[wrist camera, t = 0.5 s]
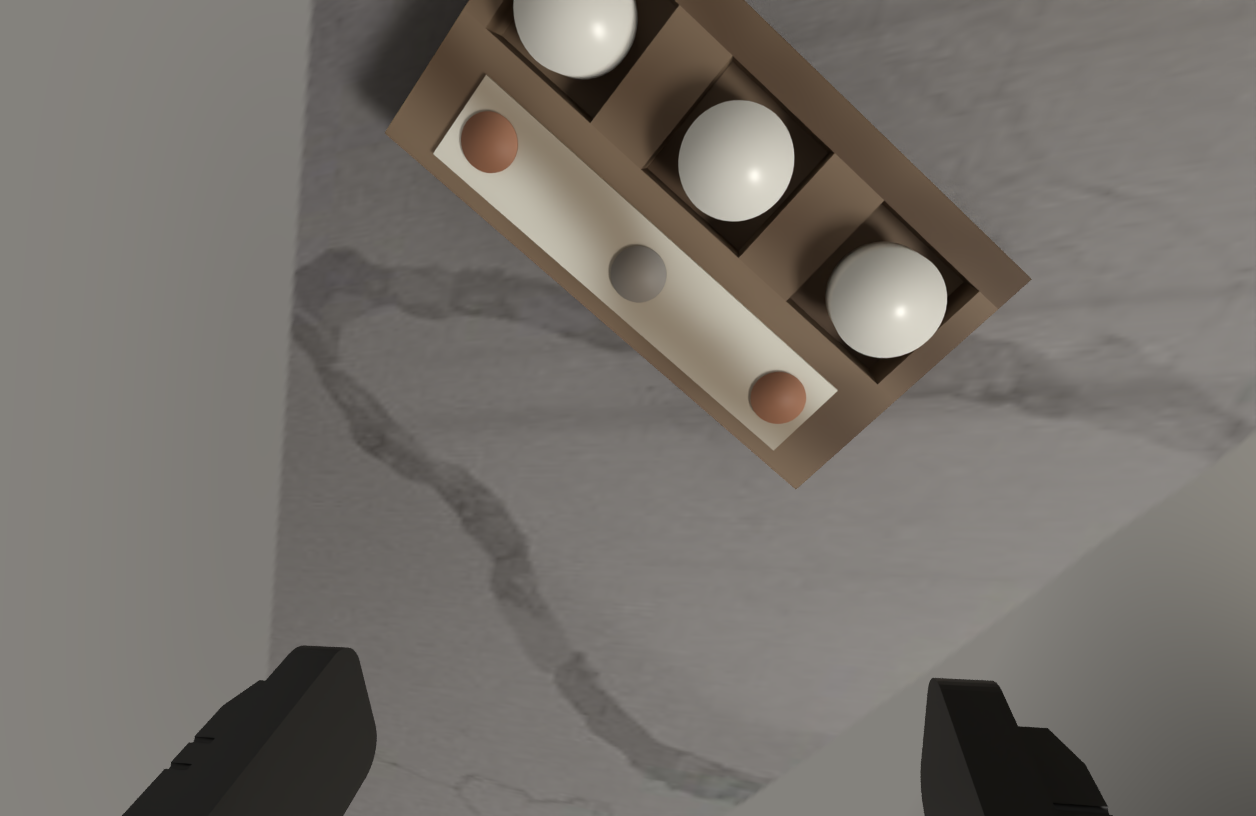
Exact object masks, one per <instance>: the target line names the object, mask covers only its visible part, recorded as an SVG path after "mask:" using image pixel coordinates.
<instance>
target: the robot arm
mask: <svg viewBox="0 0 1256 816" xmlns="http://www.w3.org/2000/svg"><path fill="white" fill-rule="evenodd" d="M376 742H377V733H376V726H375V721H374V717H373V713H372V709H371V705H370V701H369V697H368V693H367V689H366V685H365V681H364V677H363V673H362V669H361V665H360V661H359V658H358V655H357V654H356V652H355V651H354V650H353V649H351V648H344V647H323V646H299V647H297V648H295V649H294V650H293V651H292V652H291V653H290V654H289V655H288V656H287V657H286V658H285V659H284V660H283V661H282V663H281V664H280V665H279V666H278V667H277V668H276V669H275V671H274V672H273V673H272V674H271V675H270V676H269V677H268V679H267V680H266V681H263V680H259V681H258V682H256V683H255V684H253V685H252V686H250V687H249V688H248V689H246V690H245V691H243V692H242V693H240V694H239V695H238V696H236V697H235V698H233V699H232V700H230V701H229V702H227V703H226V704H225V705H223V706H222V707H221V708H220V709H219V710H218V712H217V713H216V714H215V715H214V716H213V717H212V718H211V719H210V720H209V721H208V722H207V724H206V725H205V726H204V727H203V728H202V729H201V730H200V731H199V732H198V733H197V734H196V736H195V740H194V742H193V743H188V744H187V745H186V746H185V747H184V749H183V750H182V751H181V752H180V753H179V754H178V755H177V756H176V757H175V758H174V759H173V761H172V762H171V767H170V768H169V769H164V770H163V771H162V773H161V774H160V775H159V776H158V777H157V778H156V779H155V780H154V781H153V782H152V783H151V785H150V786H149V787H148V788H147V789H146V790H145V791H144V792H143V793H142V794H141V795H140V797H139V798H138V799H137V800H136V801H135V802H134V803H133V804H132V805H131V806H130V808H129V809H128V810H127V811H126V812H125V813H124V814H123V815H122V816H343V815H344V813H345V812H346V810H347V808H348V807H349V805H350V803H351V802H352V800H353V798H354V796H355V795H356V793H357V791H358V790H359V788H360V786H361V785H362V783H363V781H364V780H365V778H366V776H367V774H368V772H369V770H370V768H371V765H372V762H373V759H374V755H375V750H376ZM921 793H922V802H923V807H924V814H925V816H1112V815H1109V813H1108V806H1107V804H1106V802H1105V801H1104V799H1103V797H1102V795H1101V793H1100V791H1099V790H1098V787H1097V786H1096V784H1095V782H1094V780H1093V778H1092V776H1091V774H1090V772H1089V771H1088V769H1087V767H1086V765H1085V764H1084V763H1083V762H1082V761H1081V760H1080V759H1079V758H1078V757H1077V756H1076V755H1075V754H1074V753H1073V752H1072V751H1071V750H1070V749H1069V748H1068V747H1066V746H1065V744H1063V743H1062V742H1061V741H1060V740H1059V739H1058V738H1057V737H1056V736H1055V735H1054V734H1053V733H1052V732H1051V731H1050V730H1049V729H1048V728H1034V727H1018V725H1017V723H1016V721H1015V719H1014V717H1013V714H1012V712H1011V710H1010V708H1009V706H1008V703H1007V701H1006V699H1005V697H1004V695H1003V693H1002V690H1001V689H1000V687H999V685H998V684H997V683H996V682H994V681H986V680H964V679H944V678H932V679H931V680H930V683H929V687H928V694H927V705H926V716H925V726H924V737H923V748H922V759H921Z"/></svg>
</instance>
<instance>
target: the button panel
mask: <svg viewBox="0 0 1256 816" xmlns="http://www.w3.org/2000/svg"><path fill="white" fill-rule="evenodd" d="M636 4H637V11H638V23H637V31H636V35H635V39H634V42H633V44H632V46H631V48H630V50H629V52H628V54H627V55H626V57H625V58H624V59H623V61H622V62H621V63H620V64H619V65H618V66H617V67H616V68H615V69H613V70H612V71H610V72H609V73H607V74H605V75H603V76H600V77H597V78H593V79H584V80H581V79H574V78H570V77H567V76H564V75H562V74H559V73H557V72H554V71H552V70H549V69H547V68H546V67H544V66H542V65H541V64H540V63H539V62H537V61H536V60H535V59H534V58H533V57H532V56H531V55H530V54H529V52H528V51H527V50H526V48H525V47H524V45H523V43H522V41H521V39H520V37H519V34H518V32H517V28H516V25H515V19H514V9H513V5H514V0H469V1H468V3H467V4H466V6H465V7H464V9H463V11H462V12H461V14H460V15H459V17H458V18H457V20H456V22H455V23H454V25H453V26H452V28H451V29H450V31H449V33H448V34H447V36H446V37H445V39H444V40H443V42H442V44H441V45H440V47H439V48H438V50H437V51H436V53H435V55H434V56H433V58H432V59H431V61H430V62H429V64H428V66H427V67H426V69H425V70H424V72H423V73H422V75H421V77H420V78H419V80H418V81H417V83H416V84H415V86H414V88H413V89H412V91H411V92H410V94H409V95H408V97H407V99H406V100H405V102H404V103H403V105H402V106H401V108H400V110H399V111H398V113H397V114H396V116H395V117H394V119H393V121H392V122H391V124H390V125H389V127H388V128H387V130H386V132H385V134H386V135H388V136H389V137H390V138H391V139H392V140H393V141H395V142H396V143H397V144H398V145H399V146H400V147H401V148H403V149H404V150H405V151H406V152H407V153H408V154H410V155H411V156H412V157H413V158H414V159H415V160H416V161H418V162H419V163H420V164H421V165H422V166H423V167H425V168H426V169H427V170H428V171H429V172H430V173H431V174H433V175H434V176H435V177H436V178H437V179H438V180H440V181H441V182H442V183H443V184H444V185H445V186H446V187H448V188H449V189H450V190H451V191H452V192H453V193H455V194H456V195H457V196H458V197H459V198H460V199H461V200H463V201H464V202H465V203H466V204H467V205H468V206H470V207H471V208H472V209H473V210H474V211H475V212H476V213H478V214H479V215H480V216H481V217H482V218H483V219H485V220H486V221H487V222H488V223H489V224H490V225H491V226H493V227H494V228H495V229H496V230H497V231H498V232H500V233H501V234H502V235H503V236H504V237H505V238H506V239H508V240H509V241H510V242H511V243H512V244H513V245H514V246H516V247H517V248H518V249H519V250H520V251H521V252H523V253H524V254H525V255H526V256H527V257H528V258H529V259H531V260H532V261H533V262H534V263H535V264H536V265H538V266H539V267H540V268H541V269H542V270H543V271H544V272H546V273H547V274H548V275H549V276H550V277H551V278H553V279H554V280H555V281H556V282H557V283H558V284H559V285H561V286H562V287H563V288H564V289H565V290H566V291H568V292H569V293H570V294H571V295H572V296H573V297H574V298H576V299H577V300H578V301H579V302H580V303H581V304H583V305H584V306H585V307H586V308H587V309H588V310H589V311H591V312H592V313H593V314H594V315H595V316H596V317H598V318H599V319H600V320H601V321H602V322H603V323H604V324H606V325H607V326H608V327H609V328H610V329H611V330H613V331H614V332H615V333H616V334H617V335H618V336H619V337H621V338H622V339H623V340H624V341H625V342H626V343H628V344H629V345H630V346H631V347H632V348H633V349H634V350H636V351H637V352H638V353H639V354H640V355H641V356H643V357H644V358H645V359H646V360H647V361H648V362H649V363H651V364H652V365H653V366H654V367H655V368H656V369H658V370H659V371H660V372H661V373H662V374H663V375H664V376H666V377H667V378H668V379H669V380H670V381H671V382H673V383H674V384H675V385H676V386H677V387H678V388H679V389H681V390H682V391H683V392H684V393H685V394H686V395H688V396H689V397H690V398H691V399H692V400H693V401H694V402H696V403H697V404H698V405H699V406H700V407H701V408H703V409H704V410H705V411H706V412H707V413H708V414H709V415H711V416H712V417H713V418H714V419H715V420H716V421H717V422H719V423H720V424H721V425H722V426H723V427H724V428H726V429H727V430H728V431H729V432H730V433H731V434H732V435H734V436H735V437H736V438H737V439H738V440H739V441H741V442H742V443H743V444H744V445H745V446H746V447H747V448H749V449H750V450H751V451H752V452H753V453H754V454H756V455H757V456H758V457H759V458H760V459H761V460H762V461H764V462H765V463H766V464H767V465H768V466H769V467H771V468H772V469H773V470H774V471H775V472H776V473H777V474H779V475H780V476H781V477H782V478H783V479H784V480H786V481H787V482H788V483H789V484H790V485H791V486H792V487H794V488H795V489H797V488H798V487H799V486H800V485H802V484H803V483H804V482H805V481H806V480H807V479H808V478H809V477H811V476H812V475H813V474H814V473H815V472H816V471H817V470H818V469H820V468H821V467H822V466H823V465H824V464H825V463H826V462H827V461H828V460H830V459H831V458H832V457H833V456H834V455H835V454H836V453H837V452H839V451H840V450H841V449H842V448H843V447H844V446H845V445H846V444H848V443H849V442H850V441H851V440H852V439H853V438H854V437H855V436H857V435H858V434H859V433H860V432H861V431H862V430H863V429H864V428H865V427H867V426H868V425H869V424H870V423H871V422H872V421H873V420H874V419H876V418H877V417H878V416H879V415H880V414H881V413H882V412H883V411H885V410H886V409H887V408H888V407H889V406H890V405H891V404H892V403H894V402H895V401H896V400H897V399H898V398H899V397H900V396H901V395H902V394H904V393H905V392H906V391H907V390H908V389H909V388H910V387H911V386H913V385H914V384H915V383H916V382H917V381H918V380H919V379H920V378H922V377H923V376H924V375H925V374H926V373H927V372H928V371H929V370H931V369H932V368H933V367H934V366H935V365H936V364H937V363H938V362H939V361H941V360H942V359H943V358H944V357H945V356H946V355H947V354H948V353H950V352H951V351H952V350H953V349H954V348H955V347H956V346H957V345H959V344H960V343H961V342H962V341H963V340H964V339H965V338H966V337H968V336H969V335H970V334H971V333H972V332H973V331H974V330H975V329H976V328H978V327H979V326H980V325H981V324H982V323H983V322H984V321H985V320H987V319H988V318H989V317H990V316H991V315H992V314H993V313H994V312H996V311H997V310H998V309H999V308H1000V307H1001V306H1002V305H1003V304H1005V303H1006V302H1007V301H1008V300H1009V299H1010V298H1011V297H1012V296H1013V295H1015V294H1016V293H1017V292H1018V291H1019V290H1020V289H1021V288H1022V287H1024V286H1025V285H1026V284H1027V283H1028V282H1029V281H1030V280H1031V278H1030V277H1029V276H1028V275H1027V274H1026V273H1025V272H1024V271H1023V270H1022V269H1021V268H1020V267H1019V266H1018V265H1017V264H1016V263H1015V262H1013V261H1012V260H1011V259H1010V258H1009V257H1008V256H1007V255H1006V254H1005V253H1004V252H1003V251H1002V250H1001V249H1000V248H999V247H998V246H997V245H996V244H995V243H994V242H993V241H992V240H991V239H990V238H989V237H988V236H987V235H986V234H985V233H984V232H983V231H982V230H981V229H979V228H978V227H977V226H976V225H975V224H974V223H973V222H972V221H971V220H970V219H969V218H968V217H967V216H966V215H965V214H964V213H963V212H962V211H961V210H960V209H959V208H958V207H957V206H956V205H955V204H954V203H953V202H952V201H951V200H950V199H949V198H948V197H946V196H945V195H944V194H943V193H942V192H941V191H940V190H939V189H938V188H937V187H936V186H935V185H934V184H933V183H932V182H931V181H930V180H929V179H928V178H927V177H926V176H925V175H924V174H923V173H922V172H921V171H920V170H919V169H918V168H917V167H916V166H915V165H913V164H912V163H911V162H910V161H909V160H908V159H907V158H906V157H905V156H904V155H903V154H902V153H901V152H900V151H899V150H898V149H897V148H896V147H895V146H894V145H893V144H892V143H891V142H890V141H889V140H888V139H887V138H886V137H885V136H884V135H883V134H882V133H881V132H879V131H878V130H877V129H876V128H875V127H874V126H873V125H872V124H871V123H870V122H869V121H868V120H867V119H866V118H865V117H864V116H863V115H862V114H861V113H860V112H859V111H858V110H857V109H856V108H855V107H854V106H853V105H852V104H851V103H850V102H849V101H848V100H846V99H845V98H844V97H843V96H842V95H841V94H840V93H839V92H838V91H837V90H836V89H835V88H834V87H833V86H832V85H831V84H830V83H829V82H828V81H827V80H826V79H825V78H824V77H823V76H822V75H821V74H820V73H819V72H818V71H817V70H816V69H815V68H813V67H812V66H811V65H810V64H809V63H808V62H807V61H806V60H805V59H804V58H803V57H802V56H801V55H800V54H799V53H798V52H797V51H796V50H795V49H794V48H793V47H792V46H791V45H790V44H789V43H788V42H787V41H786V40H785V39H784V38H783V37H782V36H781V35H779V34H778V33H777V32H776V31H775V30H774V29H773V28H772V27H771V26H770V25H769V24H768V23H767V22H766V21H765V20H764V19H763V18H762V17H761V16H760V15H759V14H758V13H757V12H756V11H755V10H754V9H753V8H752V7H751V6H750V5H749V4H748V3H746V2H745V1H744V0H636ZM733 100H744V101H751V102H755V103H758V104H760V105H763V106H765V107H766V108H768V109H770V110H771V111H772V112H773V113H775V114H776V115H777V116H778V117H779V118H780V119H781V121H782V122H783V123H784V125H785V126H786V128H787V130H788V132H789V134H790V137H791V140H792V143H793V148H794V167H793V173H792V176H791V179H790V182H789V184H788V186H787V189H786V190H785V192H784V193H783V195H782V196H781V198H780V199H779V200H778V201H777V202H776V203H775V204H774V205H773V206H772V207H771V208H770V209H768V210H767V211H766V212H764V213H762V214H761V215H759V216H756V217H754V218H751V219H748V220H743V221H724V220H720V219H716V218H713V217H711V216H709V215H707V214H705V213H704V212H702V211H701V210H700V209H698V208H697V207H696V206H695V205H694V204H693V203H692V201H691V200H690V199H689V197H688V196H687V194H686V192H685V190H684V188H683V186H682V183H681V180H680V176H679V168H678V159H679V151H680V148H681V144H682V141H683V139H684V136H685V134H686V133H687V131H688V129H689V128H690V126H691V125H692V123H693V122H694V121H695V120H696V119H697V118H698V117H699V116H700V115H701V114H702V113H704V112H705V111H706V110H708V109H710V108H711V107H713V106H715V105H717V104H720V103H723V102H727V101H733ZM880 241H888V242H895V243H899V244H902V245H904V246H907V247H909V248H910V249H912V250H914V251H915V252H917V253H919V254H920V255H922V256H923V257H925V258H927V259H928V260H929V261H930V262H932V263H933V265H934V266H935V267H936V268H937V269H938V271H939V272H940V274H941V276H942V278H943V280H944V283H945V286H946V291H947V305H946V311H945V314H944V317H943V320H942V322H941V324H940V326H939V327H938V329H937V331H936V332H935V333H934V334H933V336H932V337H931V338H930V339H929V340H928V341H927V342H925V343H924V344H923V345H922V346H920V347H919V348H917V349H916V350H914V351H912V352H909V353H907V354H904V355H901V356H897V357H891V358H877V357H871V356H868V355H864V354H862V353H860V352H858V351H856V350H854V349H853V348H851V347H850V346H849V345H847V344H846V343H845V341H844V340H843V339H842V338H841V337H840V335H839V334H838V332H837V330H836V328H835V326H834V324H833V322H832V321H831V319H830V317H829V314H828V311H827V308H826V302H825V293H826V286H827V282H828V280H829V277H830V275H831V273H832V271H833V269H834V268H835V266H836V265H837V264H838V263H839V261H840V260H841V259H842V258H843V257H844V256H846V255H847V254H848V253H850V252H851V251H852V250H854V249H856V248H858V247H860V246H863V245H865V244H869V243H872V242H880Z"/></svg>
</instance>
